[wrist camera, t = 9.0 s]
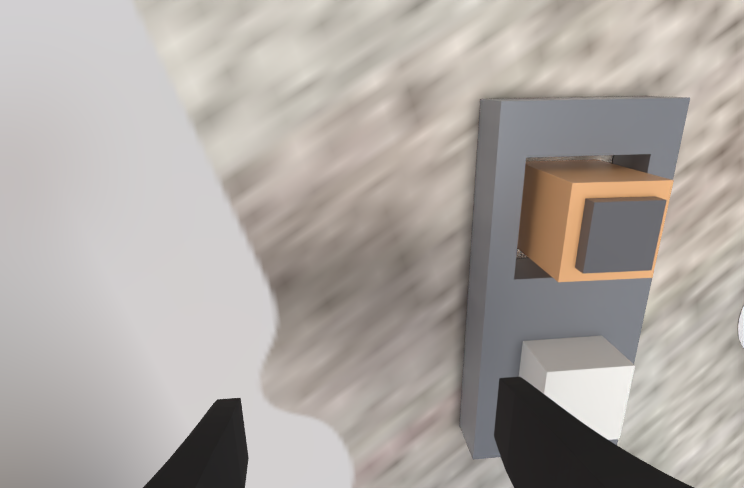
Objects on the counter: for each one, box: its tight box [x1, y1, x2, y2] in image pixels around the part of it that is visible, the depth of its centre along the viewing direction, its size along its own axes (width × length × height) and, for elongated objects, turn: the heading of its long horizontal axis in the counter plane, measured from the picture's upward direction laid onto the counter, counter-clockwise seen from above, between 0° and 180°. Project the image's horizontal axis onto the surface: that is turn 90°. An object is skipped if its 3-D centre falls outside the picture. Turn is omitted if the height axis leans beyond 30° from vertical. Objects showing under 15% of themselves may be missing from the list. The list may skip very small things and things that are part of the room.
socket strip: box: [460, 96, 690, 459], centre depth 22 cm, size 20×8×5 cm, turn 1°
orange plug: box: [517, 160, 674, 282], centre depth 20 cm, size 4×4×6 cm
